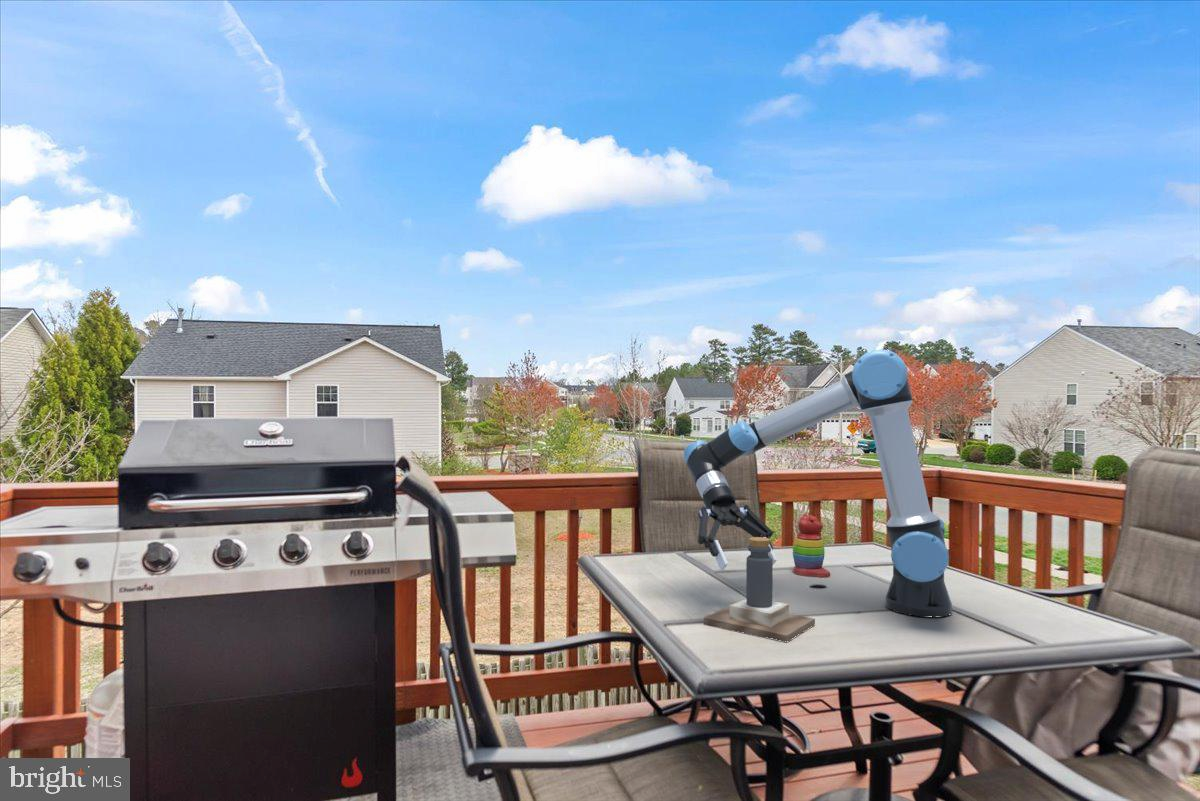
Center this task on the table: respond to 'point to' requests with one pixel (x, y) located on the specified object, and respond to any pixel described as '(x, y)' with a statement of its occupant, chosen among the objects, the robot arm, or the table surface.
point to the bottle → (759, 573)
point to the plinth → (761, 630)
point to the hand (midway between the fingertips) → (749, 565)
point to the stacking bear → (809, 548)
